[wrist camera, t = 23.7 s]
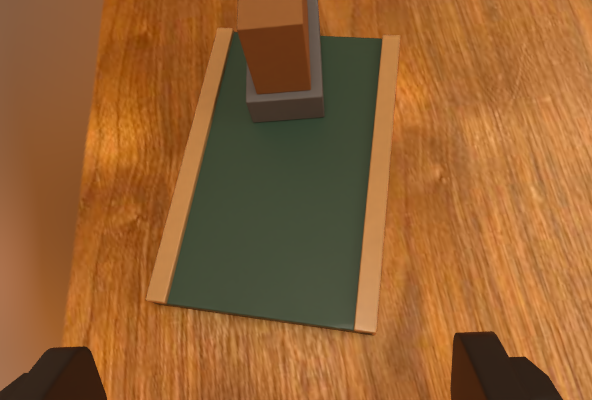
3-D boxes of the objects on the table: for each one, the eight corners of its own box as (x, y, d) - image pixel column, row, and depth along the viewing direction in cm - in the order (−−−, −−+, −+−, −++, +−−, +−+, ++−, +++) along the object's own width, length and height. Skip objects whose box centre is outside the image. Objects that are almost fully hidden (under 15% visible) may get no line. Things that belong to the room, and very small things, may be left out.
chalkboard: (154, 304, 27) (144, 300, 26) (222, 40, 34) (217, 27, 33) (374, 335, 25) (376, 333, 24) (398, 48, 32) (400, 34, 31)
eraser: (324, 117, 29) (317, 29, 22) (252, 123, 30) (222, 38, 22) (319, 23, 32) (311, -82, 25) (254, 29, 33) (227, -73, 25)
